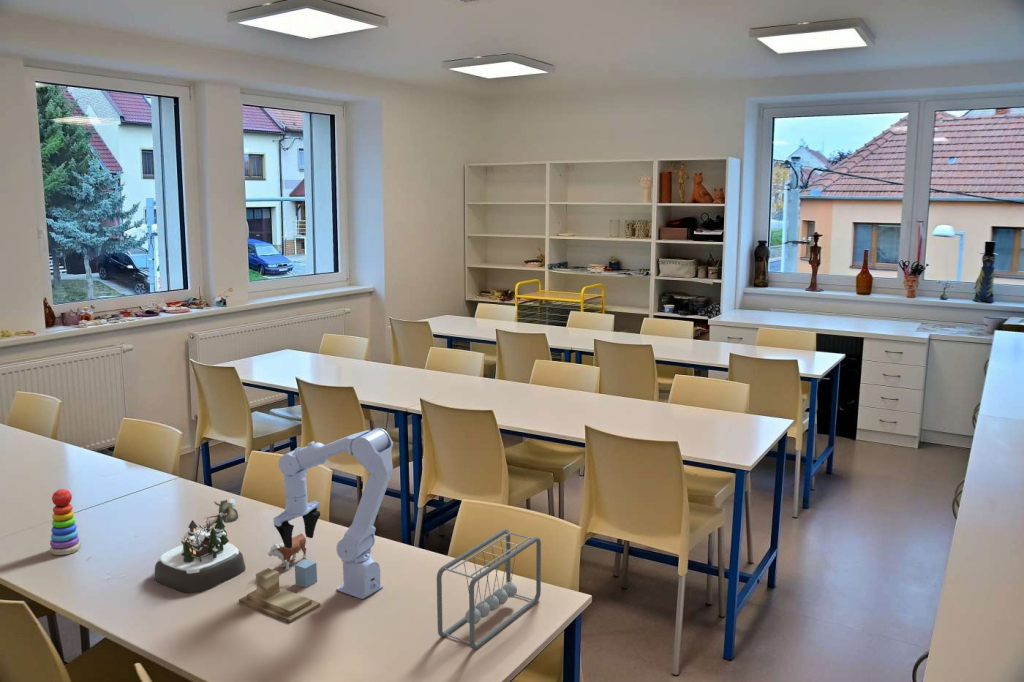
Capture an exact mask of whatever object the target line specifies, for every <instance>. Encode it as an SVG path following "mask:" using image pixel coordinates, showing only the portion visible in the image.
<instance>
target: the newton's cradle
mask: <svg viewBox="0 0 1024 682" xmlns="http://www.w3.org/2000/svg"><path fill="white" fill-rule="evenodd" d="M511 535H513V536H517V537H521V538H525V539H523V540H521V541H520V542H519V543H517V544H516V543H512V542H511ZM504 538H505V540H503V539H504ZM495 540H496V541H495ZM526 541H527V542H526ZM499 542H500V547H499V546H497V548H500V549H501V552H502V554H501V555H498V554H494V547H495V548H496V544H497V543H499ZM502 542H505V548H503V544H502ZM523 543H524V544H523ZM511 544H512V545H514V546H513V547H511ZM534 544H536V548H535V549H536V559H535V560H536V564H535V565H536V570H535V571H536V579H535V580H536V581H535V582H536V583H535V584H536V586H535V587H536V588H535V589H536V591H535V595H534V598H529V597H527V596H524V595H521V594H518V593H517V592H518V588H517V585H516V584H515V583H513V582H512V581H513V573H514V567H515V560H516V556H517V555H518V554H520V553H521V552H523V551H525V549H527V548H529V547H530V546H532V545H534ZM487 545H488V546H487ZM520 545H521V546H520ZM490 547H491V550H492V551H491V552H492V553H491V552H487V551H486V550H487V549H490ZM514 549H515V550H514ZM479 550H480V551H479ZM504 550H505V552H504ZM481 553H482V554H483V558H479V557H476V556H478V555H479V554H481ZM485 553H487V554H490V555H493V560H492V561H489V560H486V558H485ZM472 554H473V555H472ZM470 555H471V556H470ZM495 556H497V557H496V558H495ZM467 557H468V558H467ZM475 558H476V559H478V560H482V561H484V566H482V567H479V566H476V562H475ZM512 558H514V559H513V565H512V569H511V559H512ZM471 559H473V563H474V565H473V564H470V563H467V562H468V561H470V560H471ZM497 560H498V561H497ZM496 561H497V562H496ZM459 562H460V563H459ZM486 562H488V563H487V564H486ZM541 563H542V541H541V539H540V538H539V536H535V537H530V536H525V535H521V534H518V533H514V532H511V531H510V530H509V529H507V528H503V529H502V530H500V531H498V532H497V533H495V534H493V535H492V536H490V537H489V538H487V539H486V540H483V541H482V542H481V543H479V544H477V545H476V546H474V547H472V548H470V549H468V550H467V551H465V552H463V553H462V554H460V555H459V556H457V557H455V558H453V559H452V560H451V561H449V562H448V563H446V564H444V565H442V566H441V567H440V568H439V569H438V571H437V574H436V605H437V607H436V609H437V615H436V617H437V634H438V635H439V637H441V638H445V637H449V638H452V639H453V640H454V639H455V640H457V641H461V642H463V643H465V644H468V645H469V646H470V648H471V649H473V650H477V649H479V648H481V646H483V645H485V643H486V642H488V641H489V640H491V639H492V638H493V637H494V636H496V635H497V634H498V633H499V632H500V631H502V630H504V628H506V627H507V626H508V625H509V624H511V623H512V622H514V621H515V620H516V619H517V618H518V617H520V616H521V615H522V614H523V613H526V611H528V610H529V609H530V608H531V607H533V606H534V605H535V604H536V603H537V602H538V601H539V600H540V597H541V590H542V587H541V586H542V585H541V584H542V572H541V570H542V569H541V568H542V564H541ZM456 564H457V565H456ZM462 564H463V566H464V571H465V573H462V572H458V571H456V570H455V569H457V568H458V567H460V566H462ZM491 564H492V565H491ZM466 565H470V566H472V567H474V568H475V571H474V572H473V573H471V574H469V575H468V574H467V570H466ZM502 565H504V571H503V572H504V573H503V578H502V583H501V588H500V584H499V578H498V569H499V567H501V566H502ZM488 566H489V567H488ZM451 567H452V568H451ZM487 567H488V568H487ZM477 568H479V569H477ZM483 569H484V570H483ZM511 570H512V571H511ZM445 571H448V572H451V573H455V574H457V575H461V576H463V577H466V583H467V589H468V606H469V607H468V608H469V609H467V611H466V612H465V616H464V617H463V618H461V619H460V620H459V621H456V622H455V623H454V624H453V625H452V626H450V627H449V628H448V629H447V628H446V629H445V630H444V631H443V596H442V595H443V585H442V582H443V581H442V577H443V574H444V572H445ZM493 571H495V573H496V574H495V578H494V579H495V580H494V583H493V584H494V585H493V588H495V587H496V580H497V586H498V588H497V589H496V590H495V589H493V590H492V594H491V588H490V582H489V574H490V573H491V572H493ZM505 573H506V575H505ZM474 575H475V576H474ZM483 577H486V582H487V583H486V586H485V590H484V596H483V601H482V595H481V592H480V591H481V590H480V579H483ZM505 577H506V578H505ZM468 578H470V579H471V580H470V582H469V581H468ZM504 579H506V580H505V583H504ZM476 583H477V587H476V588H477V589H476V595H475V586H476ZM487 587H488V591H489V595H488V596H486V594H487V593H486V592H487ZM478 592H479V598H480V601H479V602H477V598H478ZM514 596H516V597H520V598H523V599H526V600H529V601H528V603H527V604H525V605H524V606H522V607H521V608H520V609H518V610H517V611H516V612H514V613H513V614H512V615H511V616H509V617H508V618H507V619H506V620H505V621H503V622H502V623H500V624H499V625H498V626H497V627H496V628H494V629H493V630H491V631H490V632H489V633H487V634H486V635H485V636H484V637H482V638H481V639H480V640H479V641H477V642H476V641H475V634H476V633H475V629H476V628H475V627H476V626H475V625H477V624H479V622H480V621H481V619H483V618H487V617H488V616H489V615H490V612H494V611H496V610H497V609H499V606H500V605H504V604H505V603H506V602H507V601H508V599H511V598H513V597H514ZM466 622H467V623H468V624H469V641H467V640H464V639H462V638H460V637H456V636H454V635H451V633H452V632H454V631H455V630H457V629H458V628H459V627H461V626H463V624H465V623H466ZM475 642H476V643H475Z"/></svg>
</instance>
